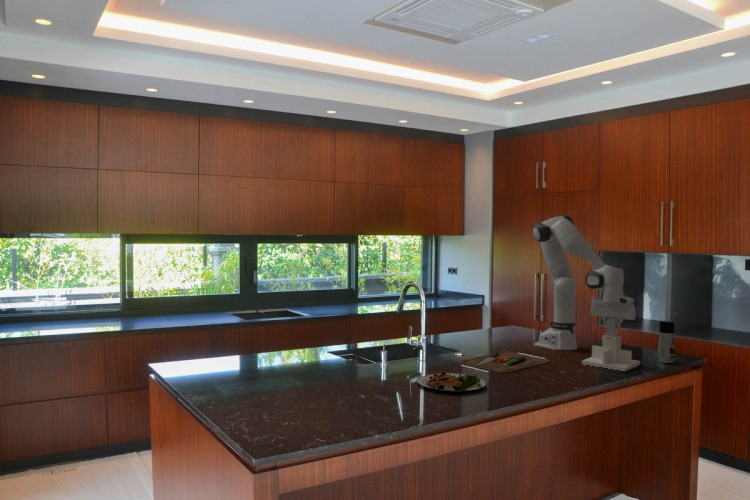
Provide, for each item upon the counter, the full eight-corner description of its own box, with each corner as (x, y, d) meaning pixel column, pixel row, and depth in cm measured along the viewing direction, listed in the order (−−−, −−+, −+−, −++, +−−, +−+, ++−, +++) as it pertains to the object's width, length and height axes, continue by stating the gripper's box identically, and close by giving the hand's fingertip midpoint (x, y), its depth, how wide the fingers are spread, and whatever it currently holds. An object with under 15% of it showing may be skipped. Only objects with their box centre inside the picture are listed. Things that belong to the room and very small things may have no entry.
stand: (581, 364, 273) (582, 335, 273) (598, 358, 288) (599, 330, 287) (624, 372, 260) (625, 341, 259) (640, 365, 274) (641, 336, 274)
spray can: (672, 365, 276) (673, 323, 275) (656, 362, 280) (658, 322, 279) (674, 362, 281) (676, 321, 280) (659, 360, 285) (660, 320, 284)
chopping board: (497, 376, 251) (498, 369, 251) (452, 364, 271) (452, 358, 271) (555, 362, 280) (555, 356, 280) (510, 352, 300) (510, 347, 300)
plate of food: (499, 386, 233) (499, 371, 233) (457, 399, 214) (457, 383, 214) (445, 375, 253) (445, 362, 253) (402, 386, 234) (402, 371, 234)
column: (605, 356, 273) (606, 318, 273) (608, 355, 276) (609, 318, 276) (614, 357, 271) (615, 320, 270) (617, 356, 274) (618, 319, 273)
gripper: (588, 296, 277) (587, 325, 278) (632, 300, 263) (631, 330, 264) (594, 295, 282) (593, 323, 282) (637, 299, 268) (636, 329, 268)
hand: (612, 327), depth 273 cm, fingers closed on column, 4 cm apart
